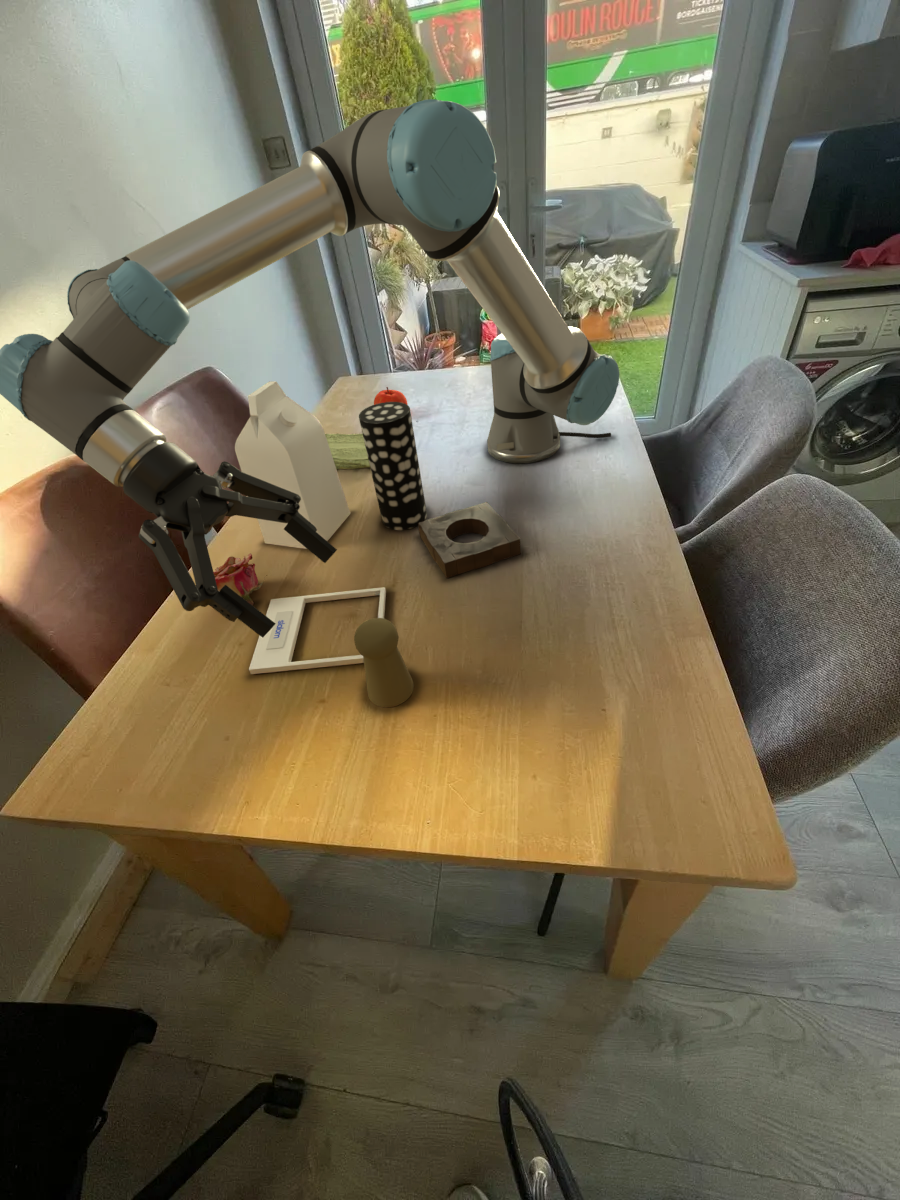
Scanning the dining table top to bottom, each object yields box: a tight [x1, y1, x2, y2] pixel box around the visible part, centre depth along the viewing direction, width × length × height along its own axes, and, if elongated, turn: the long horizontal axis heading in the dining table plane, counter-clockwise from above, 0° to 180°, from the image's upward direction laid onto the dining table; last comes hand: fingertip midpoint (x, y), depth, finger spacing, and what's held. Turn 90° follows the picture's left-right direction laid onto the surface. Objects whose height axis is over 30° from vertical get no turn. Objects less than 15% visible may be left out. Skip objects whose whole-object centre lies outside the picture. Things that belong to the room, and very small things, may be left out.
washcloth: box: [325, 432, 370, 470], centre depth 122 cm, size 13×18×3 cm
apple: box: [373, 386, 409, 406], centre depth 133 cm, size 8×8×8 cm
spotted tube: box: [358, 402, 428, 531], centre depth 95 cm, size 8×8×20 cm
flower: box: [213, 553, 268, 606], centre depth 86 cm, size 10×9×8 cm
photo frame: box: [248, 586, 387, 675], centre depth 80 cm, size 15×1×18 cm
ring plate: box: [417, 501, 522, 579], centre depth 92 cm, size 13×13×3 cm
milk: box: [234, 380, 351, 550], centre depth 94 cm, size 12×12×26 cm
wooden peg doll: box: [353, 617, 415, 708], centre depth 67 cm, size 6×6×11 cm
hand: (302, 591), depth 64 cm, fingers open, 13 cm apart
